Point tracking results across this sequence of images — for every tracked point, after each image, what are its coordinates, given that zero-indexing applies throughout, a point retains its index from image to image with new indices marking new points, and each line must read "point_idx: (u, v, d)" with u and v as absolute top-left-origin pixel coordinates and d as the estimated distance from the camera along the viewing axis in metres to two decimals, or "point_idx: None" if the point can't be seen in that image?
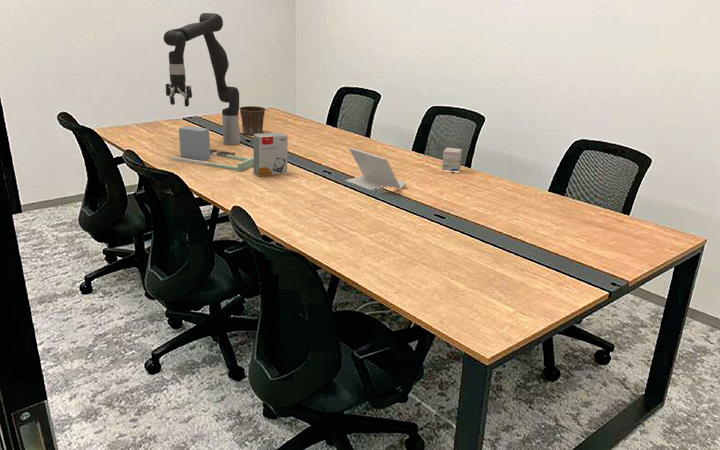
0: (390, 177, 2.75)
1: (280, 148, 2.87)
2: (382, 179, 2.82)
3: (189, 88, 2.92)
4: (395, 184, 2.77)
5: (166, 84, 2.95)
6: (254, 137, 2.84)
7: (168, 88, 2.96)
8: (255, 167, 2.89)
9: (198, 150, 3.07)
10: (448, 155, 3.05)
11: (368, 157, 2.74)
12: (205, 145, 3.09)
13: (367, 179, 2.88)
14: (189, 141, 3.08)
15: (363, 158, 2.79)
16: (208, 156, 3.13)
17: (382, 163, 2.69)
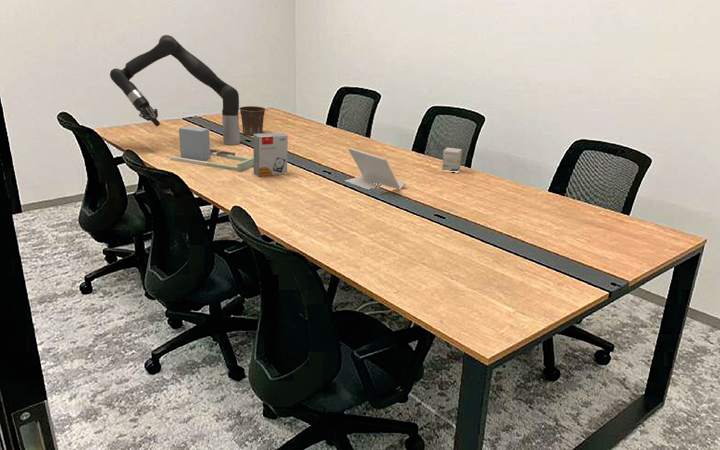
0: (389, 177, 2.74)
1: (280, 148, 2.87)
2: (381, 179, 2.82)
3: (141, 115, 3.11)
4: (394, 184, 2.76)
5: None
6: (254, 137, 2.84)
7: (153, 113, 3.20)
8: (255, 167, 2.89)
9: (198, 150, 3.07)
10: (448, 155, 3.05)
11: (367, 157, 2.74)
12: (205, 145, 3.09)
13: (366, 179, 2.88)
14: (189, 141, 3.08)
15: (362, 158, 2.78)
16: (208, 156, 3.13)
17: (381, 163, 2.69)
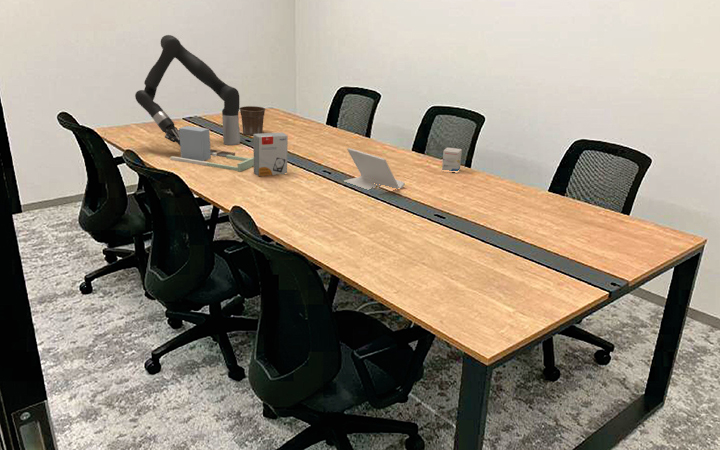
0: (389, 177, 2.74)
1: (280, 148, 2.87)
2: (380, 179, 2.82)
3: (167, 137, 3.09)
4: (394, 184, 2.76)
5: None
6: (254, 137, 2.84)
7: None
8: (255, 167, 2.89)
9: (198, 151, 3.07)
10: (448, 155, 3.05)
11: (366, 157, 2.74)
12: (206, 145, 3.08)
13: (365, 179, 2.88)
14: (189, 141, 3.08)
15: (361, 158, 2.78)
16: (208, 156, 3.12)
17: (381, 163, 2.69)
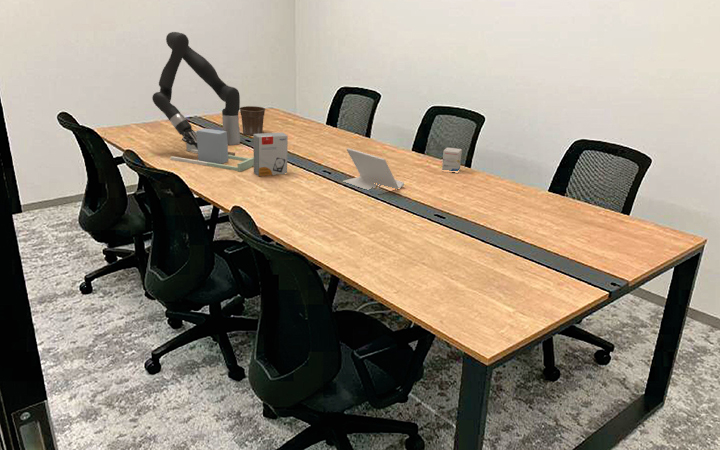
0: (388, 177, 2.74)
1: (280, 148, 2.87)
2: (380, 179, 2.82)
3: (184, 139, 3.06)
4: (393, 184, 2.76)
5: None
6: (254, 137, 2.84)
7: (196, 137, 3.14)
8: (255, 167, 2.89)
9: (216, 153, 3.03)
10: (448, 155, 3.05)
11: (366, 157, 2.73)
12: (223, 148, 3.05)
13: (364, 179, 2.88)
14: (207, 144, 3.04)
15: (361, 158, 2.78)
16: (226, 159, 3.08)
17: (380, 163, 2.68)
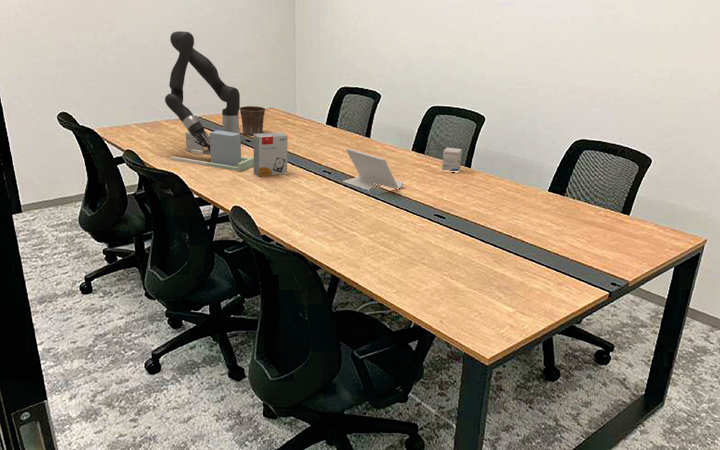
0: (388, 177, 2.74)
1: (280, 148, 2.87)
2: (379, 179, 2.82)
3: (197, 141, 3.03)
4: (393, 184, 2.76)
5: None
6: (254, 137, 2.84)
7: (208, 138, 3.11)
8: (255, 167, 2.89)
9: (229, 156, 3.00)
10: (448, 155, 3.05)
11: (366, 158, 2.73)
12: (236, 150, 3.02)
13: (364, 180, 2.88)
14: (220, 146, 3.01)
15: (360, 159, 2.78)
16: (239, 161, 3.06)
17: (380, 163, 2.68)
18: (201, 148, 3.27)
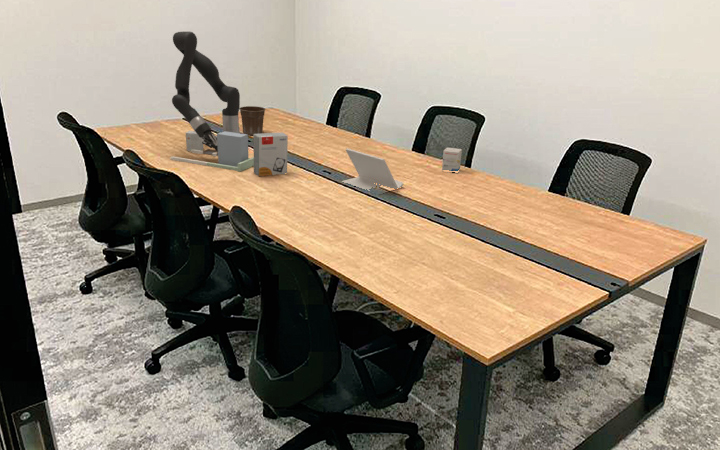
0: (387, 177, 2.74)
1: (280, 148, 2.87)
2: (379, 179, 2.81)
3: (204, 143, 3.01)
4: (392, 184, 2.76)
5: None
6: (254, 137, 2.84)
7: (215, 139, 3.10)
8: (255, 167, 2.89)
9: (237, 157, 2.99)
10: (448, 155, 3.05)
11: (365, 158, 2.73)
12: (244, 151, 3.00)
13: (363, 180, 2.87)
14: (227, 147, 2.99)
15: (360, 159, 2.77)
16: None
17: (380, 163, 2.68)
18: (201, 148, 3.27)
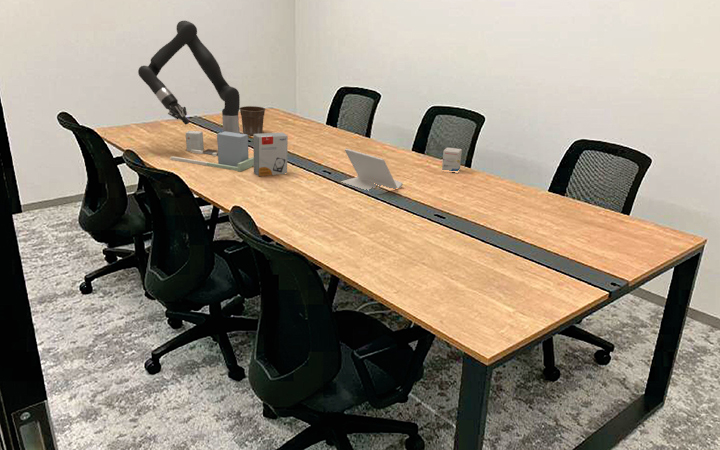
0: (387, 177, 2.74)
1: (280, 148, 2.87)
2: (378, 180, 2.81)
3: (171, 113, 3.04)
4: (392, 184, 2.76)
5: None
6: (254, 137, 2.84)
7: None
8: (255, 167, 2.89)
9: (237, 157, 2.99)
10: (448, 155, 3.05)
11: (365, 158, 2.73)
12: (244, 151, 3.00)
13: (362, 180, 2.87)
14: (227, 147, 2.99)
15: (359, 159, 2.77)
16: None
17: (379, 164, 2.68)
18: (201, 148, 3.27)
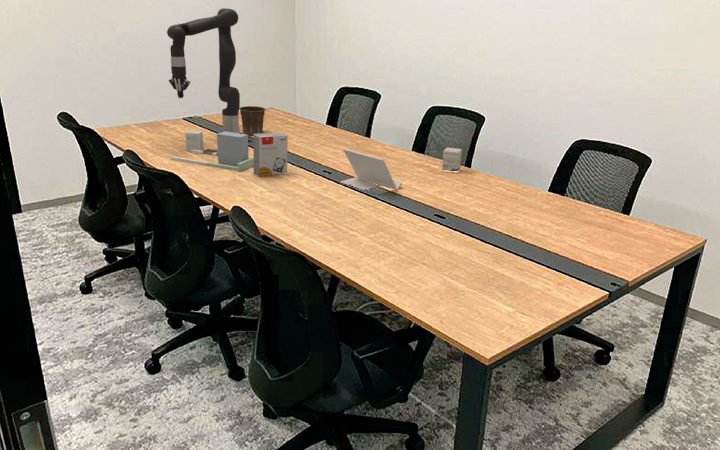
0: (386, 178, 2.74)
1: (280, 148, 2.87)
2: (377, 180, 2.81)
3: (188, 84, 3.13)
4: (391, 184, 2.76)
5: (169, 80, 3.16)
6: (254, 137, 2.84)
7: (172, 82, 3.16)
8: (255, 167, 2.89)
9: (237, 157, 2.99)
10: (448, 155, 3.05)
11: (364, 158, 2.72)
12: (244, 151, 3.00)
13: (361, 180, 2.87)
14: (227, 147, 2.99)
15: (358, 159, 2.77)
16: None
17: (379, 164, 2.68)
18: (201, 148, 3.27)
